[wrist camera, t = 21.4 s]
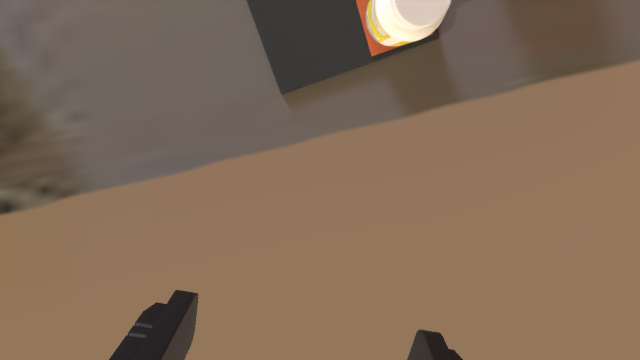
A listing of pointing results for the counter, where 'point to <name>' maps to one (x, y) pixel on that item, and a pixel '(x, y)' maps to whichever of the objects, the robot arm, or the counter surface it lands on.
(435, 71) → the counter surface
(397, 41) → the supplement bottle
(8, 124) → the counter surface
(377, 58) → the corner mat
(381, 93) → the counter surface
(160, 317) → the robot arm
